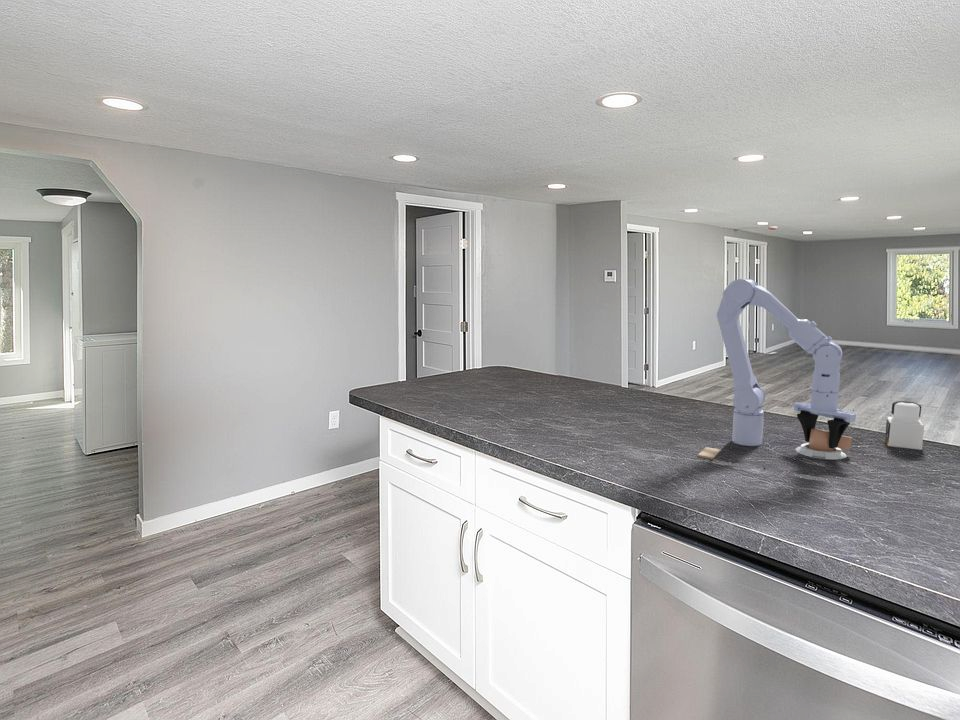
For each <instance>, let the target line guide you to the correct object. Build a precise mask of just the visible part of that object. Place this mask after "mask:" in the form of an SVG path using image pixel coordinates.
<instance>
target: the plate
mask: <svg viewBox="0 0 960 720" xmlns="http://www.w3.org/2000/svg"><path fill="white" fill-rule="evenodd" d="M808 445H809V442H805V443H802V444H800V446H797V447H796V448H795V451H796V453H799V454H800V455H802V456H807V457H810V458H814V459H815V458H816V459H821V460H842V459H846V458H847V454H846V453H845V452H843V451H842V448H835V449H834V451H832V452H823V451H816V450H812V449H809V448H808Z"/></svg>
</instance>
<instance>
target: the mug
mask: <svg viewBox="0 0 960 720" xmlns="http://www.w3.org/2000/svg"><path fill="white" fill-rule="evenodd" d="M852 441H853V436H852V437H850V436H847V435H842V436H841V438H840V441H839V443H838V446H837V448H840V449H841V450H842V449H843V450H847V451H850V450H851V447H852ZM808 443H809V445H808V448H809V449H812V450H816V451H823V452H832V451H834V449H835V448H829V429H828V430H826V429H822V428H816V427H815V428H811V433H810V439H809V442H808Z"/></svg>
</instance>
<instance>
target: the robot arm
mask: <svg viewBox="0 0 960 720" xmlns="http://www.w3.org/2000/svg"><path fill="white" fill-rule="evenodd" d="M748 305H750V306H753V307H755V306H756V307H759V308H763V309H764V310H766V311H767V312H768V313H769V314H771V315H772V316H773V317H775V319H776V320H778V321H779V322H780V323H781V324H783V325H784V326H785V327H786V328H787V329H788V337H789V338H790V339H791V340H793V342H795V343H796V344H797V345H798V346H799V347H800V348H802V349H803V350H804V351H805V352H806V353H807V354H811V355H812V359H813V362H814V371H813V372H812V381H811V382H812V384H811V397H810V403H805V402H794V405H793V410H794V411H795V412H799V413H797V414H796V418H797V419H798V421H799V423H800V425H801V428H802V431H803V435H804V440H805V441H804V442H805V443H809V439H810V433H811V428H816V425H817V420H818V418H819V416H821V417H826V418H830V419H828V420H827V421H826V422H827V426H828V431H829V448H837V446H838V443H839V441H840V438H841V436H843V434H844V433H845V431H846V429H847V428H848V427H849V426H850V425H851V424H852V423H855V422H856V418H857V417H856V416H857V413H852V412H850V411H846V410H843V409H839V408H838V406H839V395H840V393H839V392H840V384H841V383H840V382H841V373H840V371H841V361H842V357H843V350H842V348H841V346H840V345H839V343H838V342H836V341H833V337H831V335H828V336H827V335H826V334H825V333H824V332H823V331H821V330H820V329H819V328H818V327H817V325H818V324H817V323H816V322H815V321H814V320H812V321H810V320H809V319H808V318H807V319H803V318H802V319H799V318H798V317H797V316H796V315H794V313H793V312H792V311H790V309H789V308H787V307H786V306H785V305H784V304H783V303H782V302H781V301H780V300H779V299H778V298H777V297H776V296H775V295H774V294H773V293H771V292H770V291H769V290H768V289H767V288H765V287H763V286H761V285H759V284H758V283H757V281H755V280H753V279H750V278H744V279H743V278H739V279H735V280H733V281H731V282H730V283H729V284H728V285H727V286H726V288H725V289H724V290H723V292H722V298H721V301H720V303H719V306H718V309H717V313H716V317H717V318H716V319H717V321H718V322H717V323H718V326H719V329H720V332H721V337H722V340H723V344H724V347H725V351H726V356H727V359H728V362H729V367H730V370H731V374H732V375H731V376H732V379H733V383H732V384H733V385H732V387H733V393H734V394H733V399H732V402H733V403H732V404H733V407H734V408H733V416H732V417H733V419H732V435H731V437H732V438H731V442H733V444H737V445H741V446H749V447H755V446H761V445H762V443H763V438H764V437H763V435H764V433H763V432H764V420H765V419H764V414H765V413H764V410H763V409H762V407H761V406H762V405H763V404H764V403H765V400H766V393H765V392H764V390H763V388H761V386H760V385H759V383H758V379H757V377H756V376H755V374H754V372H753V371H754V370H753V367H752V364H751V361H750V356H749V353H748V349H747V345H746V342H745V341H746V340H745V337H744V334H743V331H742V325H741V323H740V319H739V317H740V316H741V314H742V312H743V311H744V309H745V308H746V307H747V306H748Z"/></svg>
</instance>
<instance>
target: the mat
mask: <svg viewBox="0 0 960 720" xmlns="http://www.w3.org/2000/svg"><path fill="white" fill-rule="evenodd" d="M721 450H722V448H721V449H720V448H716V447H715V448H714V447H713V448H712V447H708V446H705V448H703V449H702V450H701V451H700V452H699V453H698V454H697V458H703V459H707V460H708V459H709V460H716V461H719V459H717V458H715V457H716V456H717V455H718V454H719V453H720V452H721ZM721 461H722V462H725V460H724V459H723V460H722V459H720V462H721ZM726 462H727V463H731V461H729V460H726Z"/></svg>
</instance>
